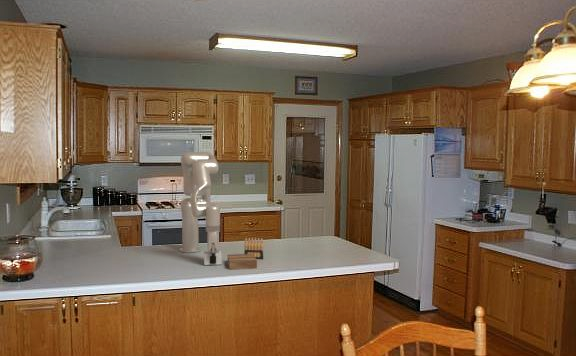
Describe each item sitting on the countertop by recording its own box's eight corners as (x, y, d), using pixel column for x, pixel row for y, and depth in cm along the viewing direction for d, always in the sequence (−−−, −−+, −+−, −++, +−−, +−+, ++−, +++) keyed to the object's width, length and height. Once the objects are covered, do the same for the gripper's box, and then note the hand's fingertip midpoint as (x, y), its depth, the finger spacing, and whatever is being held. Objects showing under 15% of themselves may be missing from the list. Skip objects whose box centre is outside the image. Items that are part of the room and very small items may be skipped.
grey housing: (204, 262, 272) (204, 250, 272) (221, 262, 274) (221, 249, 273) (204, 264, 267) (204, 252, 267) (221, 264, 269) (221, 251, 268)
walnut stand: (227, 262, 276) (227, 254, 275) (253, 261, 278) (253, 254, 278) (229, 269, 260) (229, 261, 260) (256, 268, 262) (256, 260, 262)
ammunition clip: (244, 258, 284) (244, 237, 283) (244, 258, 286) (244, 237, 285) (263, 259, 283) (263, 238, 282) (263, 258, 285) (263, 237, 284)
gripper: (205, 225, 277) (205, 258, 278) (206, 231, 260) (206, 266, 261) (219, 225, 278) (219, 258, 279) (220, 231, 261) (220, 266, 263)
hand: (212, 261), depth 270 cm, fingers closed on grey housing, 5 cm apart
